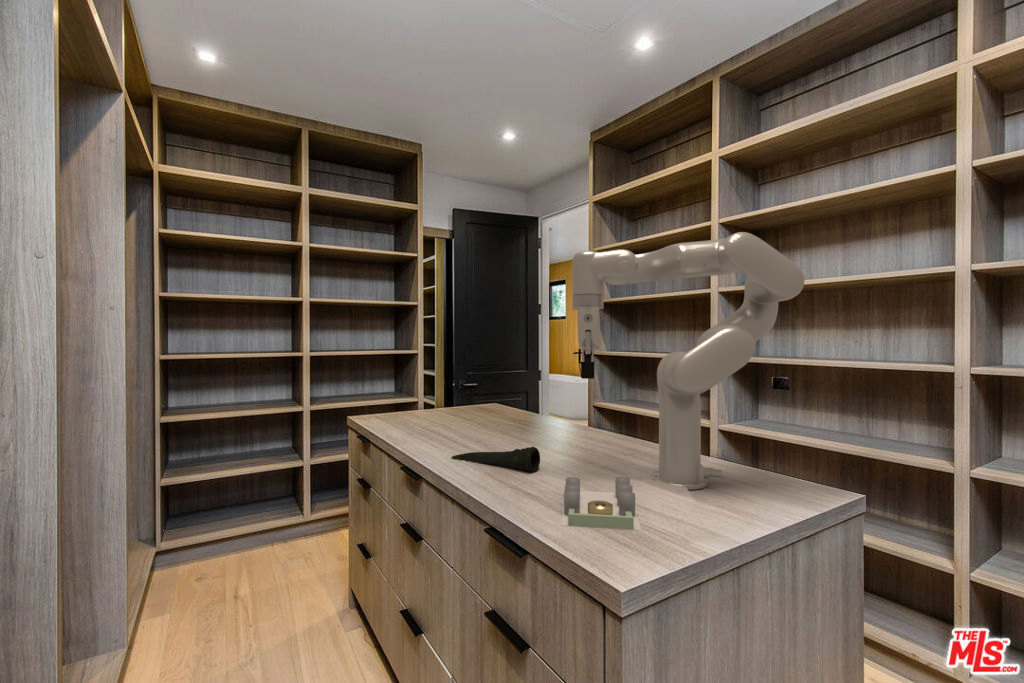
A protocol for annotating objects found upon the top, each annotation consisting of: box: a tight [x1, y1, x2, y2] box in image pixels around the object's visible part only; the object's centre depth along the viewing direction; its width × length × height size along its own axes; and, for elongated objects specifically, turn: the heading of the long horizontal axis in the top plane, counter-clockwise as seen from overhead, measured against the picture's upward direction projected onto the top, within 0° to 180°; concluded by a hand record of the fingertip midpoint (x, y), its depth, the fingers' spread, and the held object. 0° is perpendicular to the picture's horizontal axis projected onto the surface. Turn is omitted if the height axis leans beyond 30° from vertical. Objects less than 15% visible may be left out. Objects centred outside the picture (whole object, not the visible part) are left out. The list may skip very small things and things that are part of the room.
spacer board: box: [560, 476, 642, 531], centre depth 95 cm, size 14×20×5 cm
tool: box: [450, 446, 541, 473], centre depth 133 cm, size 28×6×7 cm, turn 54°
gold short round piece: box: [588, 501, 613, 515], centre depth 89 cm, size 5×5×3 cm
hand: (587, 378), depth 117 cm, fingers closed
